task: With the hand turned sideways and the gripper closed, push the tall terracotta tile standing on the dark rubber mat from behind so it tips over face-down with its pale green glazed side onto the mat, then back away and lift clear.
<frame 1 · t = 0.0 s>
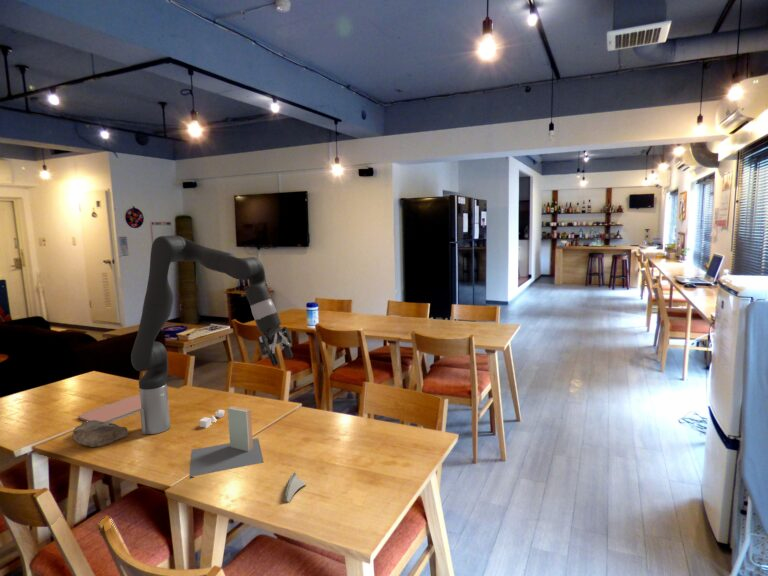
hand: (283, 361, 150), 31 cm above the table, tool tilted 20°, fingers open, 8 cm apart
ceramic fragment: (291, 490, 132), on the table
game pieces: (213, 422, 179), on the table
mat: (226, 457, 151), on the table
grey rock: (97, 437, 168), on the table
tile: (241, 447, 156), point 1 cm above the table, touching mat
notebook: (121, 411, 191), on the table
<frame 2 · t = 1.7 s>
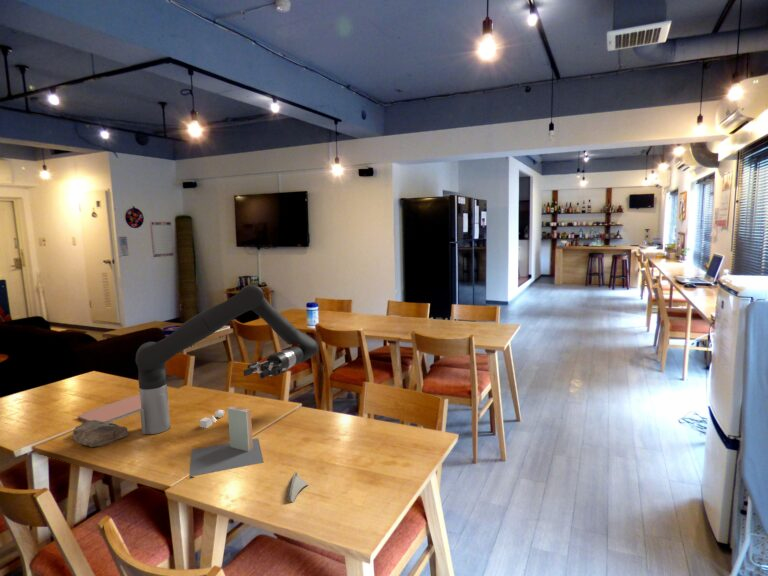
hand: (252, 374, 160), 24 cm above the table, tool horizontal, fingers open, 6 cm apart
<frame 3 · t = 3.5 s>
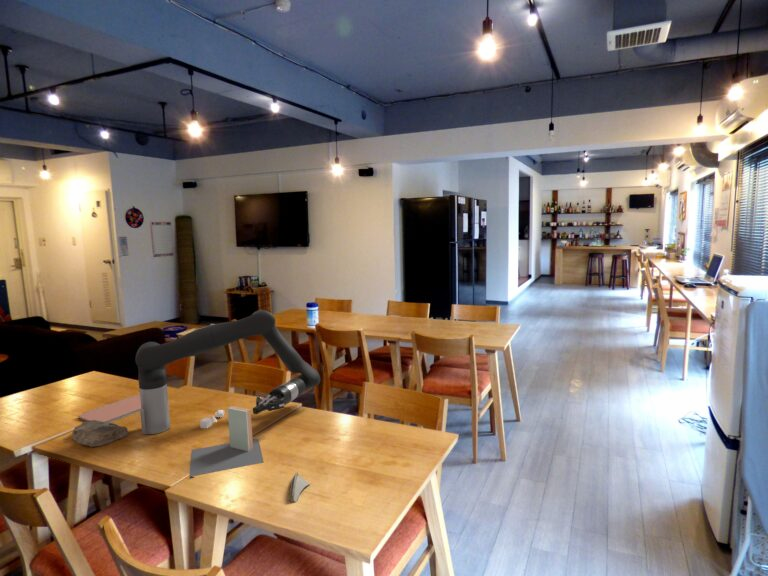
hand: (254, 411, 161), 11 cm above the table, tool horizontal, fingers closed
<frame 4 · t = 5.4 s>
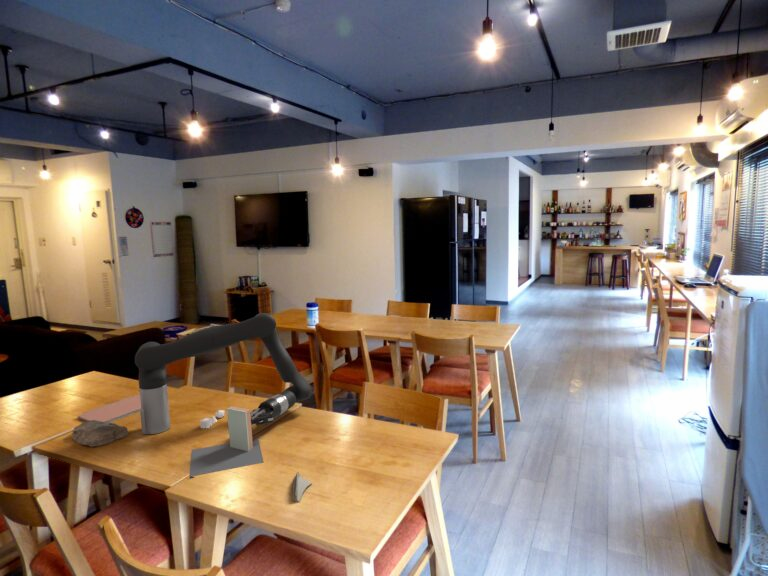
hand: (242, 425, 156), 8 cm above the table, tool horizontal, fingers closed
tile: (241, 447, 156), point 1 cm above the table, touching gripper, mat
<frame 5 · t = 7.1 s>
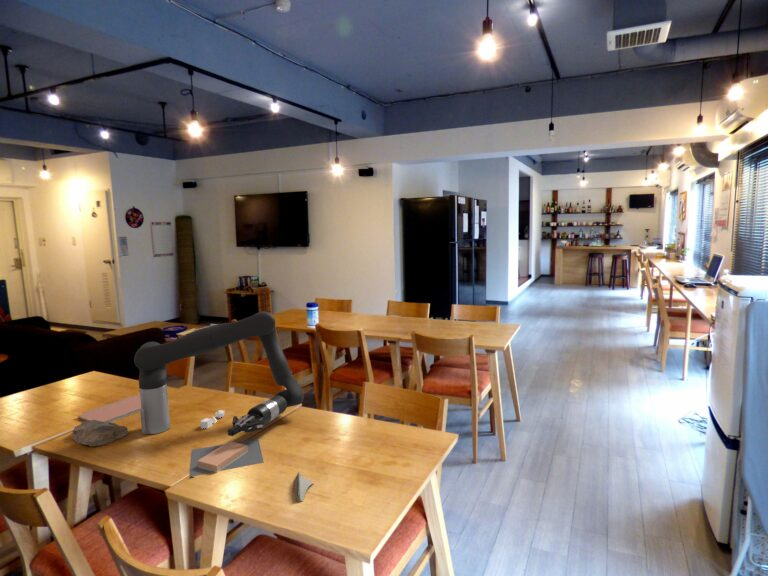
hand: (229, 433, 150), 8 cm above the table, tool horizontal, fingers closed
tile: (238, 446, 155), point 2 cm above the table, tilted 90°, touching mat
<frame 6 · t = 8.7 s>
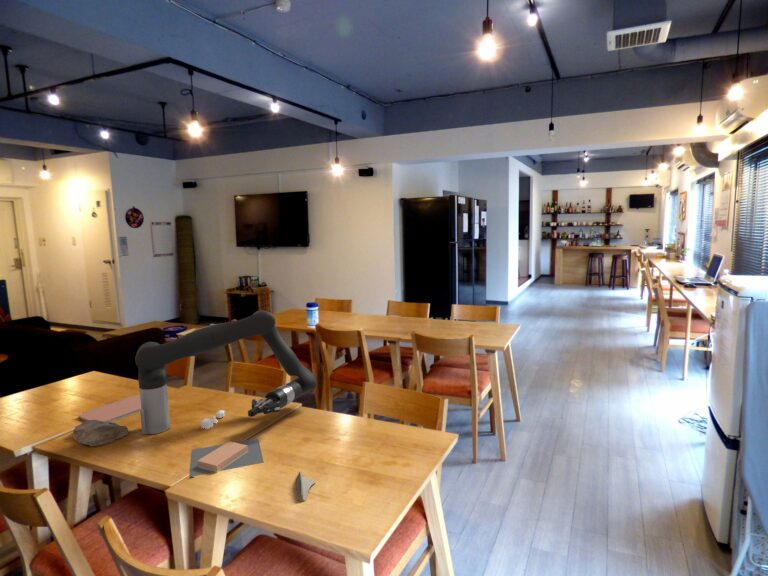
hand: (249, 414, 159), 10 cm above the table, tool horizontal, fingers closed
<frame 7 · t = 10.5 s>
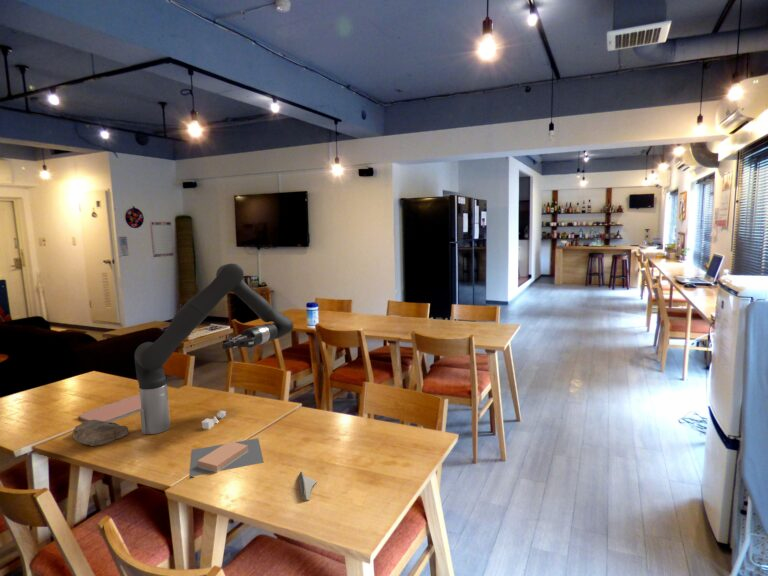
hand: (224, 346, 168), 32 cm above the table, tool horizontal, fingers closed
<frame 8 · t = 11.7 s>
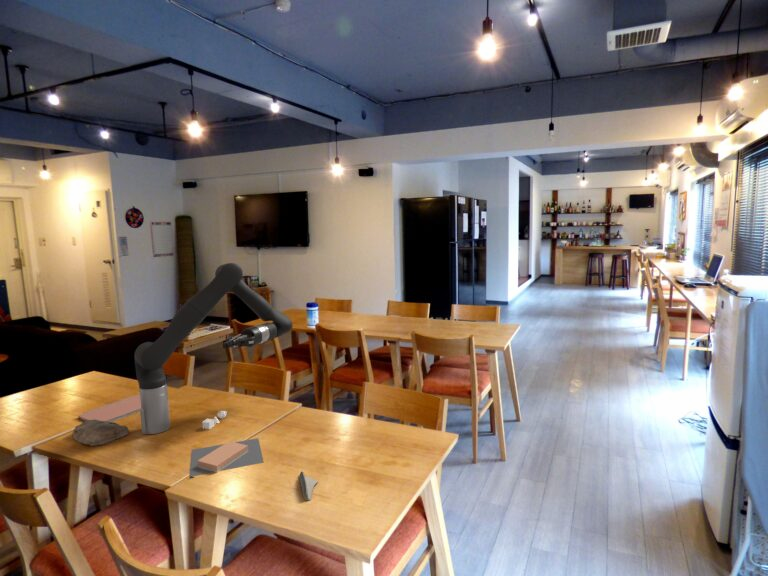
hand: (224, 346, 168), 32 cm above the table, tool horizontal, fingers closed
at the end: tile tilted 90°; tile inside the target area (1.0 cm from its centre), point 1.7 cm above the table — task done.
